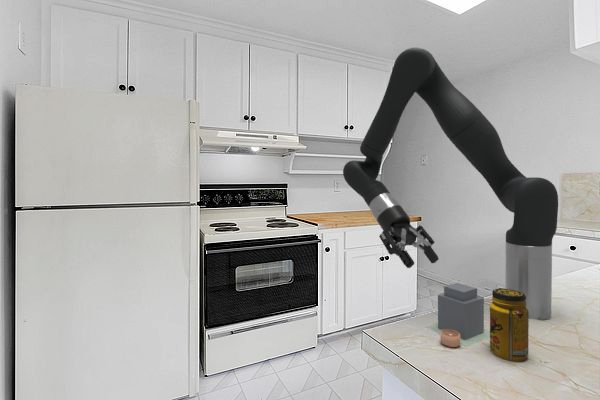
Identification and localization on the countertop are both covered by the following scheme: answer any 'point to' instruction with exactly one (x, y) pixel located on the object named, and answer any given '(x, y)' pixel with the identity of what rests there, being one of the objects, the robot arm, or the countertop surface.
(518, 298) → the condiment
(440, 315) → the grey stepped block
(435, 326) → the mat
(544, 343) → the countertop surface
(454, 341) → the bowl
